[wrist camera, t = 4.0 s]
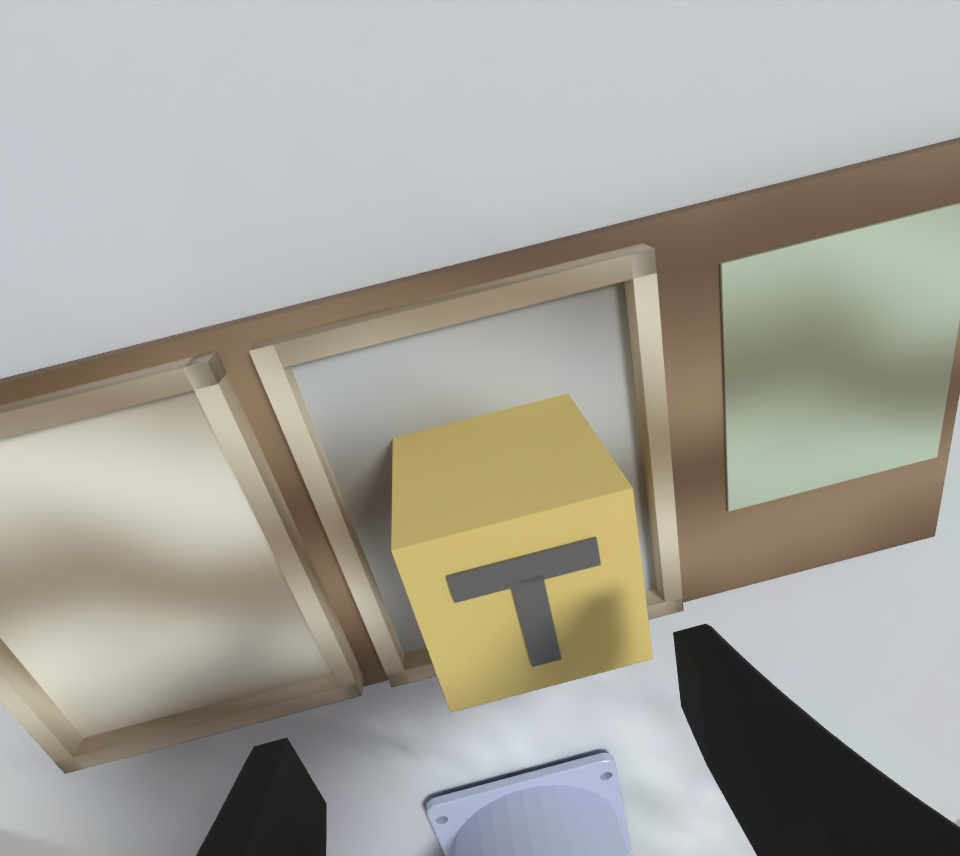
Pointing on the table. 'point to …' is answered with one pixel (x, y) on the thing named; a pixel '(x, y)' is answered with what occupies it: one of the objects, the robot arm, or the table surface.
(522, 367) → the organizer board
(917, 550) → the table surface
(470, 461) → the letter cube
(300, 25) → the table surface
